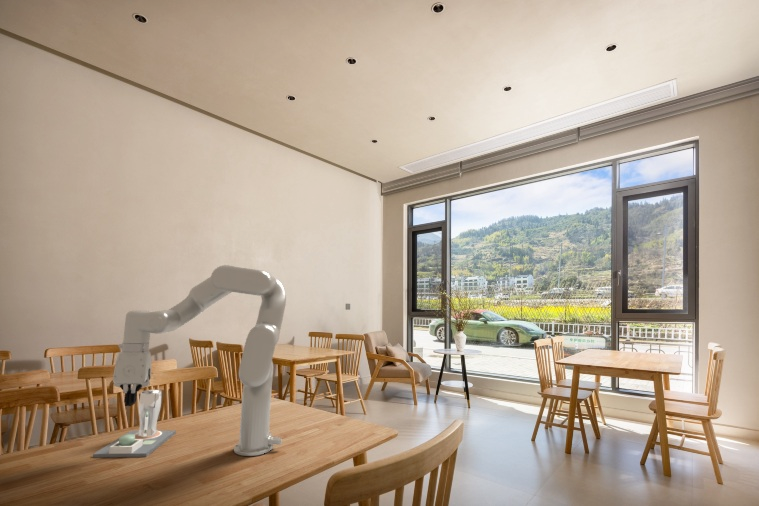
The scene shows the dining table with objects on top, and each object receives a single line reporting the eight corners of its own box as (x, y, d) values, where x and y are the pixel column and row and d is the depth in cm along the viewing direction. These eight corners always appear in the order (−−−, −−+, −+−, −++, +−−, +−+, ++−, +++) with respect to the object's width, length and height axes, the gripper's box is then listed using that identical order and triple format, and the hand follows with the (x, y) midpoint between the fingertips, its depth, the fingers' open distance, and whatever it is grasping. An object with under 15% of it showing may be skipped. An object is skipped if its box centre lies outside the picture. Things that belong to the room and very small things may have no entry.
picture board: (175, 433, 146) (176, 424, 146) (146, 456, 124) (147, 446, 124) (130, 433, 144) (131, 425, 145) (92, 457, 122) (93, 447, 123)
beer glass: (148, 439, 136) (152, 394, 138) (131, 437, 137) (135, 393, 139) (162, 432, 143) (166, 390, 145) (146, 431, 144) (150, 388, 146)
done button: (137, 440, 129) (137, 434, 130) (130, 445, 125) (130, 438, 125) (123, 440, 129) (124, 434, 129) (115, 445, 125) (116, 439, 125)
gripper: (105, 349, 126) (98, 408, 124) (153, 349, 128) (148, 408, 125) (118, 346, 134) (112, 401, 131) (164, 347, 135) (159, 402, 133)
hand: (129, 404), depth 128 cm, fingers closed
